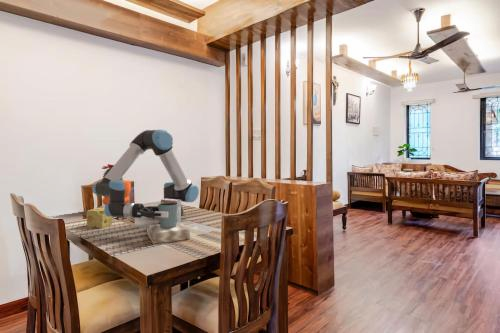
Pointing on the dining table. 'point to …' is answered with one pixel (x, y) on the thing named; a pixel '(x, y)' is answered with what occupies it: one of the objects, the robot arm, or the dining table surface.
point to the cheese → (98, 218)
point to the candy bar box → (178, 207)
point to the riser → (167, 233)
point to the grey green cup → (172, 214)
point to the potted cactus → (126, 183)
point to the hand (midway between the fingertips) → (173, 212)
